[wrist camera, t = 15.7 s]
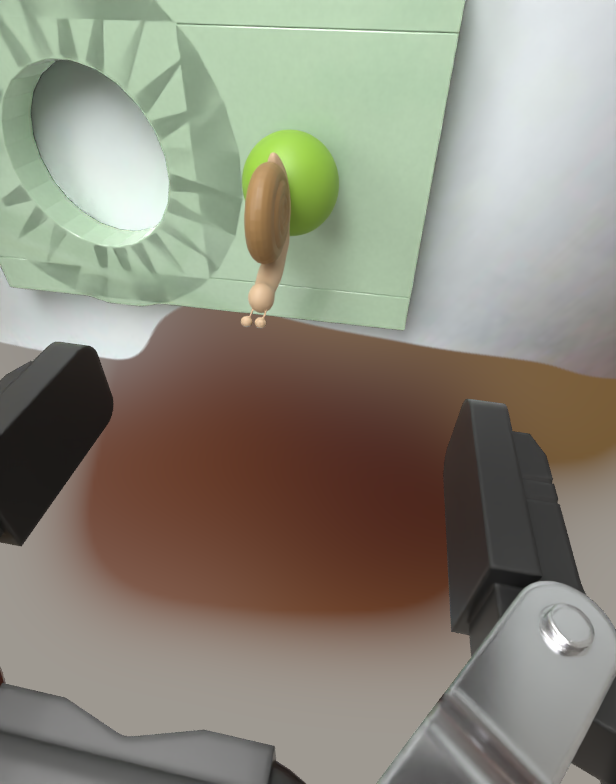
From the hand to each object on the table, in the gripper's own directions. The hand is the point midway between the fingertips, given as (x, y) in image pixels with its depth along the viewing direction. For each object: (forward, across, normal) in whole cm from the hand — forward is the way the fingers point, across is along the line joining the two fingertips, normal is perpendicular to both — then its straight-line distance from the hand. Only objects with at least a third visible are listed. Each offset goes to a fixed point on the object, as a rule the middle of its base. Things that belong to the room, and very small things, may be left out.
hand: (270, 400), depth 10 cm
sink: (+25, +12, +2) cm, 28 cm away
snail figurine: (+22, +4, +2) cm, 23 cm away
